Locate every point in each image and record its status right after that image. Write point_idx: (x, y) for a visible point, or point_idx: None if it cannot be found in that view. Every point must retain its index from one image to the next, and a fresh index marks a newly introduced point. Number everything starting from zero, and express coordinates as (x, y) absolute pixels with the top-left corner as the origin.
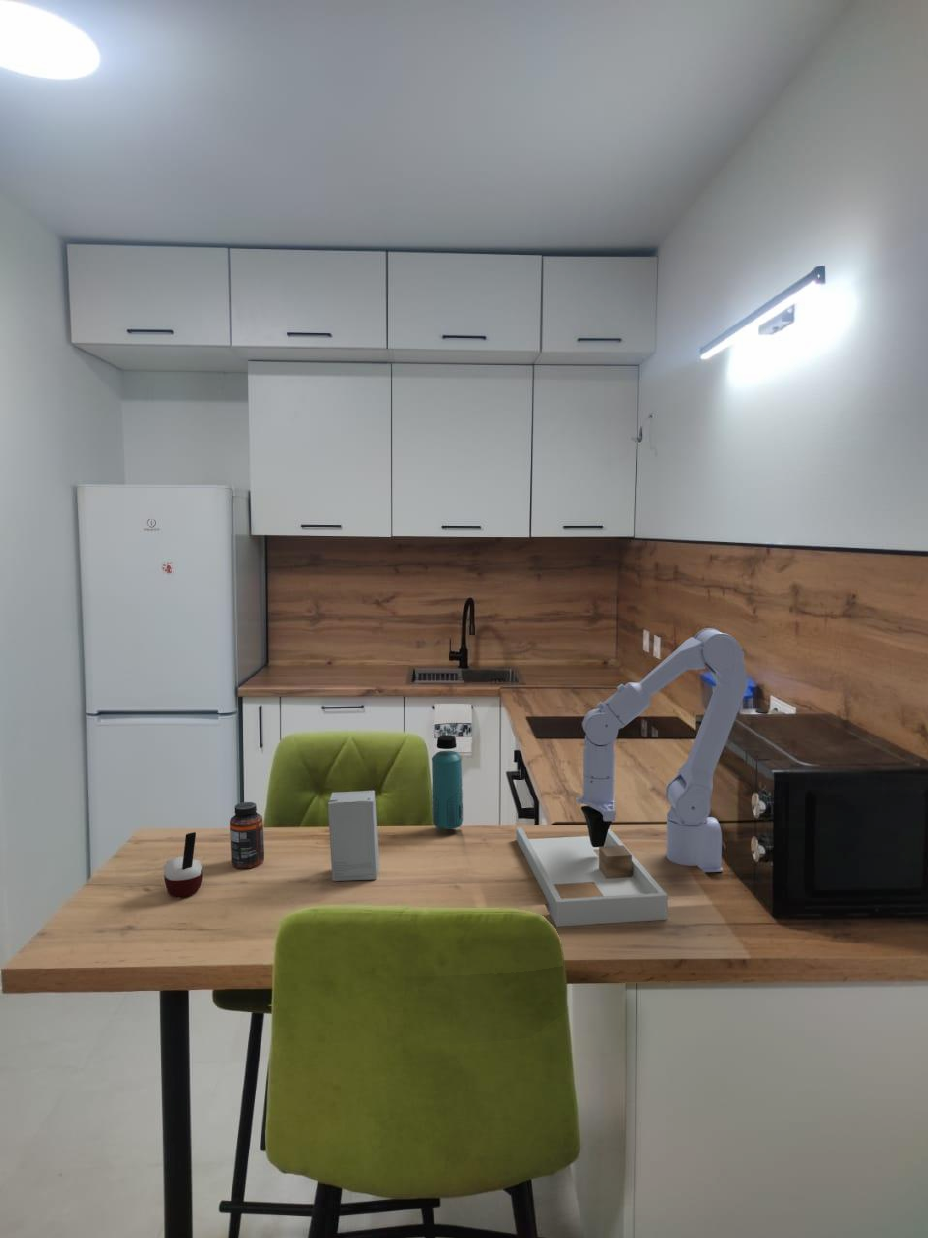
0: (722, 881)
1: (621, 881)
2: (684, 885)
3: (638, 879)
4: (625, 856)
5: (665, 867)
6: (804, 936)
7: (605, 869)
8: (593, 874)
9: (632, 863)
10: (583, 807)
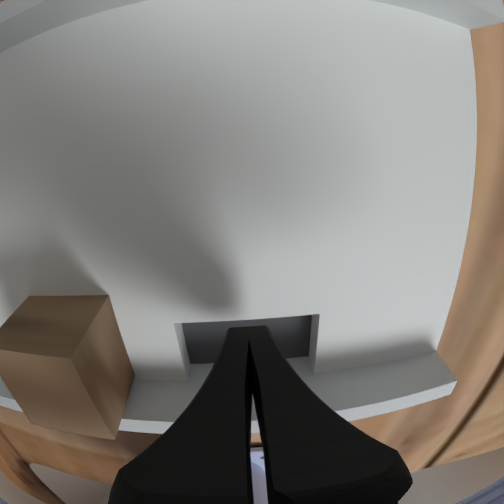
0: None
1: None
2: (107, 441)
3: None
4: (21, 404)
5: None
6: (6, 458)
7: (25, 312)
8: (49, 259)
9: None
10: (369, 496)
